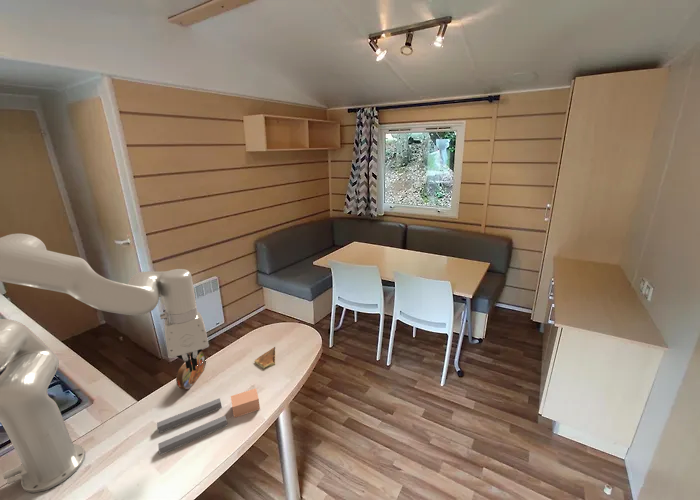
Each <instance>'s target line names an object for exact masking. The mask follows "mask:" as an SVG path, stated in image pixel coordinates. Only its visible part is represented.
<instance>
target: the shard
mask: <svg viewBox="0 0 700 500" xmlns="http://www.w3.org/2000/svg"><path fill="white" fill-rule="evenodd" d="M253 362H254V364H257V365H258V366H260V367H261V368H262V369H265V368H266V367H267V368H268V367H270V366H274V365H276V346H273V348H270V349H269V350H268V351H266V352H264V353H263V354H261V355H260V356H258V357H257V358H256V359H254V361H253Z"/></svg>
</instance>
